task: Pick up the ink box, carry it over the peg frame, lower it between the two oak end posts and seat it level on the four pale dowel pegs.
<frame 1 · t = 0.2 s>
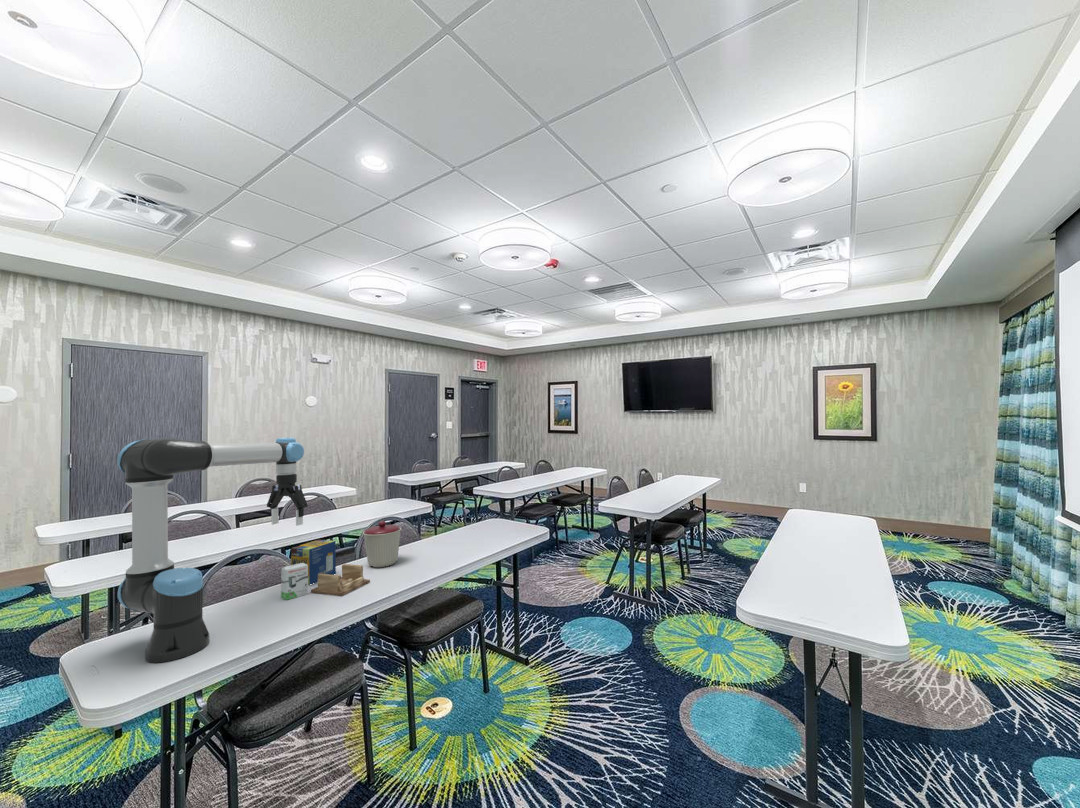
hand: (287, 524, 186), 27 cm above the table, fingers open, 13 cm apart
ink box: (294, 596, 177), on the table
protein box: (314, 579, 196), on the table
peg frame: (341, 587, 184), on the table
canister: (382, 564, 214), on the table
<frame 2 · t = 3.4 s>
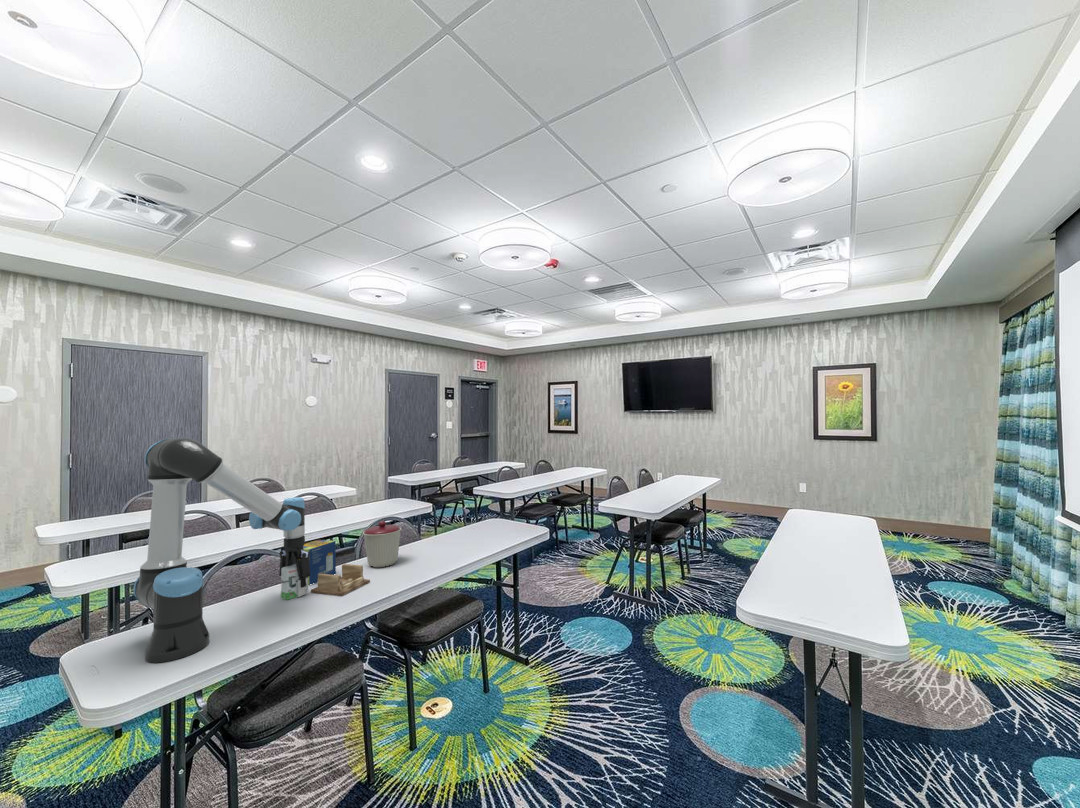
hand: (294, 594, 177), 0 cm above the table, fingers closed on ink box, 6 cm apart
ink box: (294, 596, 177), on the table, touching gripper
everything else where it was.
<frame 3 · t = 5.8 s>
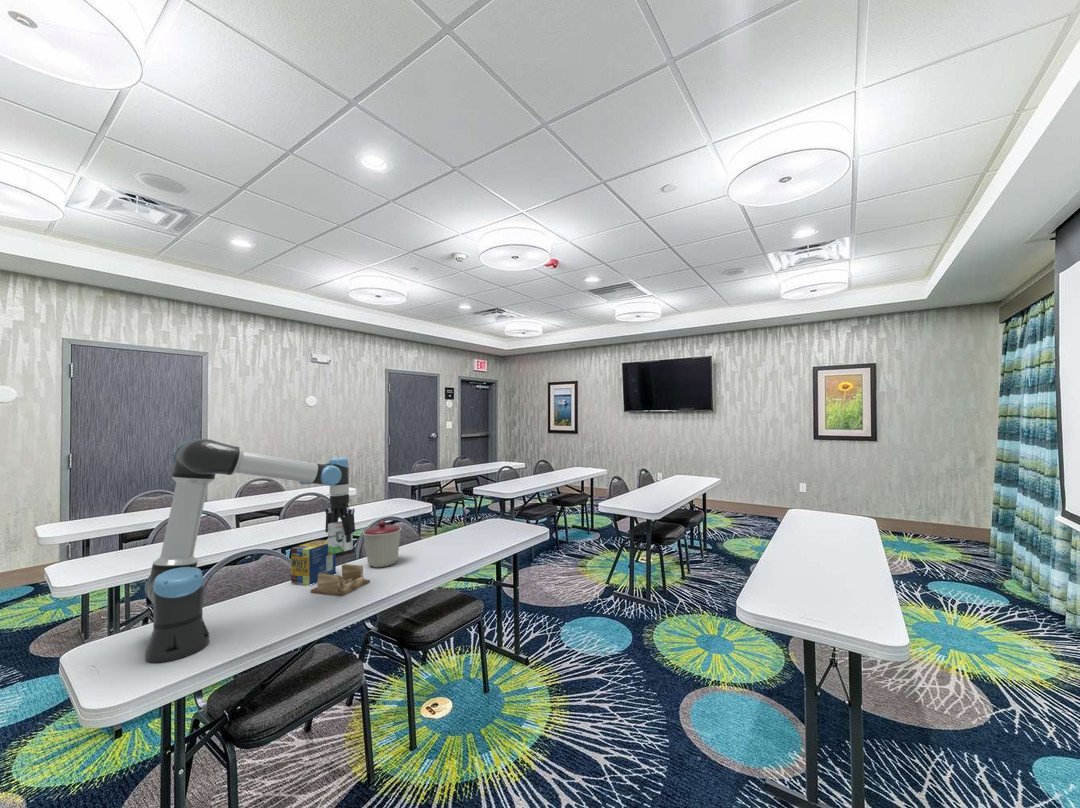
hand: (340, 549, 185), 16 cm above the table, fingers closed on ink box, 6 cm apart
ink box: (340, 551, 185), point 15 cm above the table, touching gripper
everything else where it was.
when the fingers open (5 cm above the table, at t = 8.4 s): ink box stays where it is, resting on peg frame.
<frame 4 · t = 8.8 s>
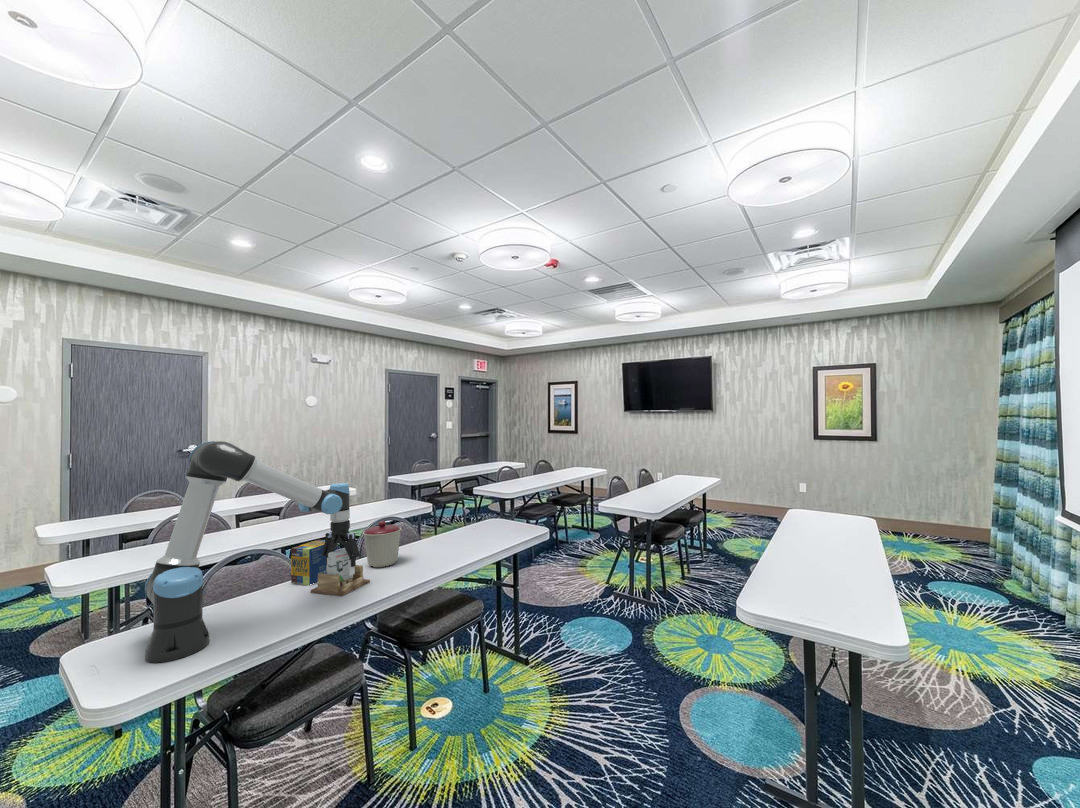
hand: (340, 573, 184), 6 cm above the table, fingers open, 10 cm apart
ink box: (340, 580, 184), point 3 cm above the table, touching peg frame
everything else where it was.
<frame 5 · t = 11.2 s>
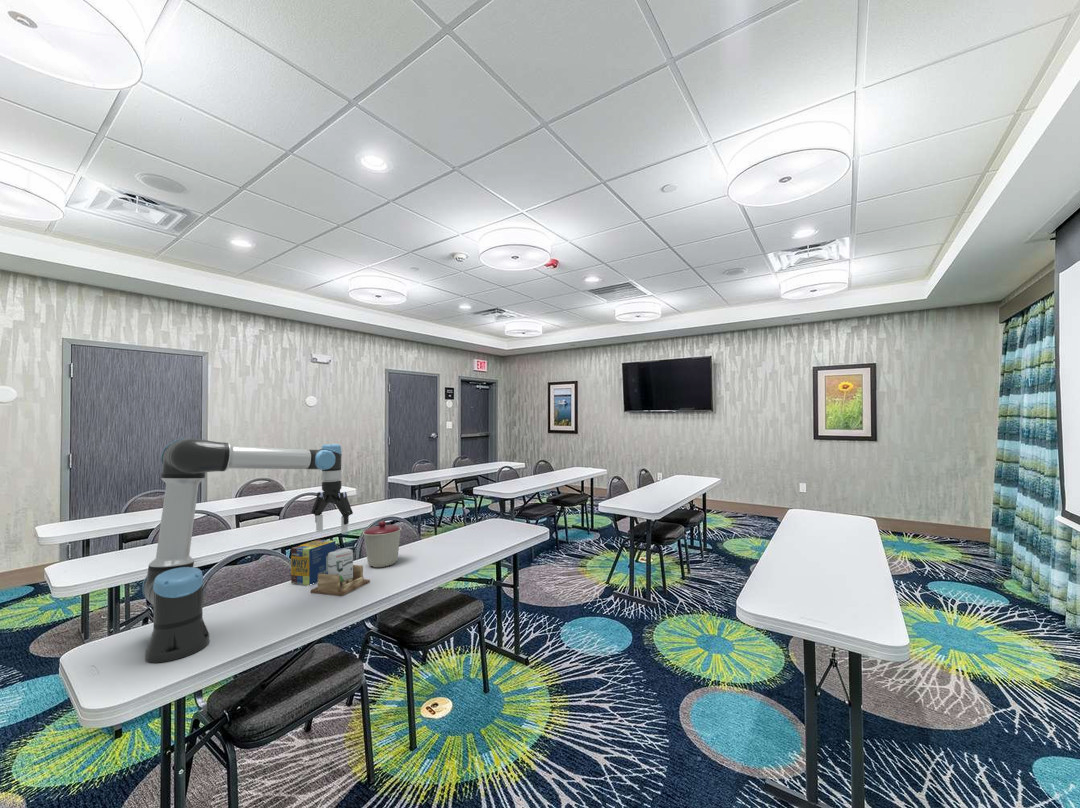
hand: (331, 531, 185), 23 cm above the table, fingers open, 13 cm apart
nothing on the table moved.
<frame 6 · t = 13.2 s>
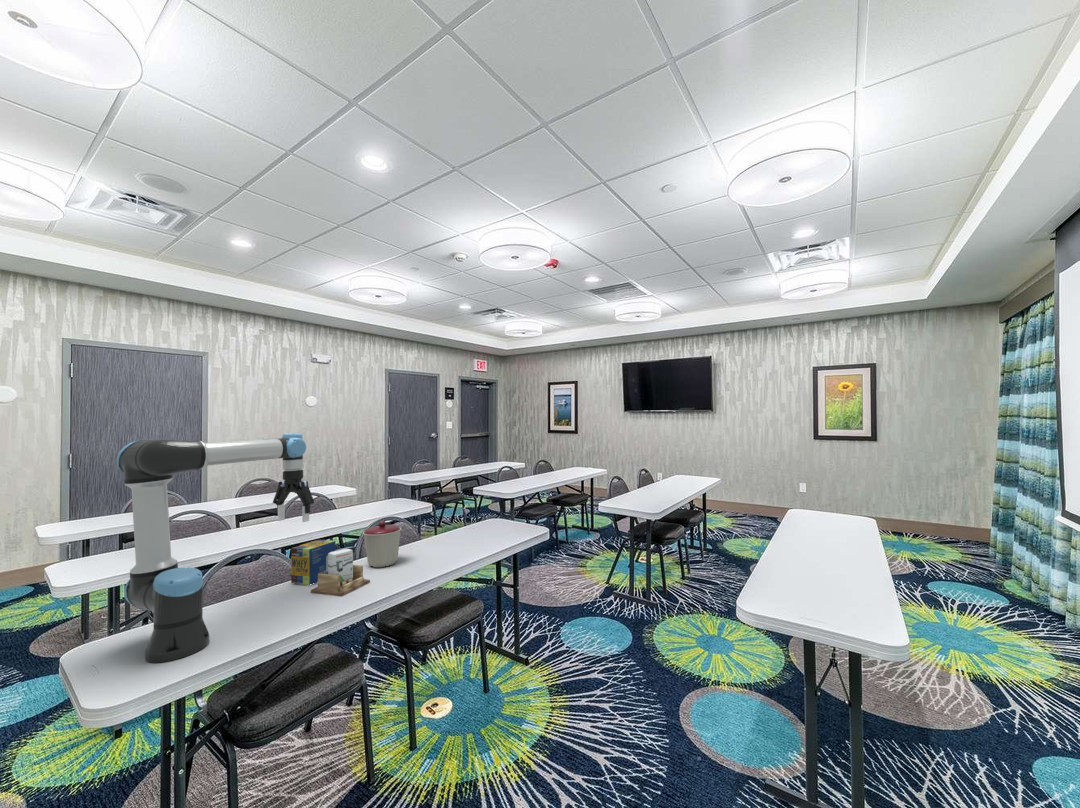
hand: (293, 521, 184), 29 cm above the table, fingers open, 13 cm apart
nothing on the table moved.
at the end: ink box 0.1 cm off-centre on the peg frame, point 3.0 cm above the peg frame's base; ink box tilted 0°; the gripper is holding nothing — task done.
